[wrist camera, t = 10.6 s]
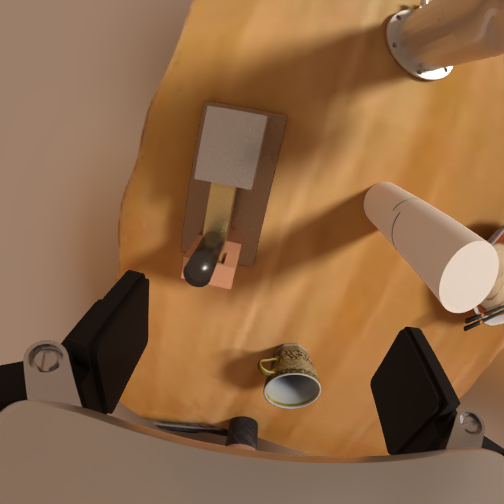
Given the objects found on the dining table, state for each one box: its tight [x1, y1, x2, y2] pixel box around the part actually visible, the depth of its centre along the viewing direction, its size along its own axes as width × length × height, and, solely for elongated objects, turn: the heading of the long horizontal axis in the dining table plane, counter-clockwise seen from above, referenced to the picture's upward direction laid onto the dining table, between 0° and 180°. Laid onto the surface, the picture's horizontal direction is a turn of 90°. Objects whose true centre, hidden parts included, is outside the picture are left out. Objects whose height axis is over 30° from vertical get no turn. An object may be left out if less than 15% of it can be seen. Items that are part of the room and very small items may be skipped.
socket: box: [181, 235, 241, 289], centre depth 44 cm, size 3×7×8 cm, turn 78°
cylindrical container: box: [363, 182, 499, 313], centre depth 32 cm, size 7×7×25 cm
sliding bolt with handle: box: [183, 182, 237, 287], centre depth 35 cm, size 16×3×12 cm, turn 168°
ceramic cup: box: [258, 343, 321, 409], centre depth 52 cm, size 13×10×10 cm
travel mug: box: [225, 417, 258, 451], centre depth 58 cm, size 8×8×20 cm
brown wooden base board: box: [181, 101, 287, 267], centre depth 40 cm, size 24×12×9 cm, turn 168°
